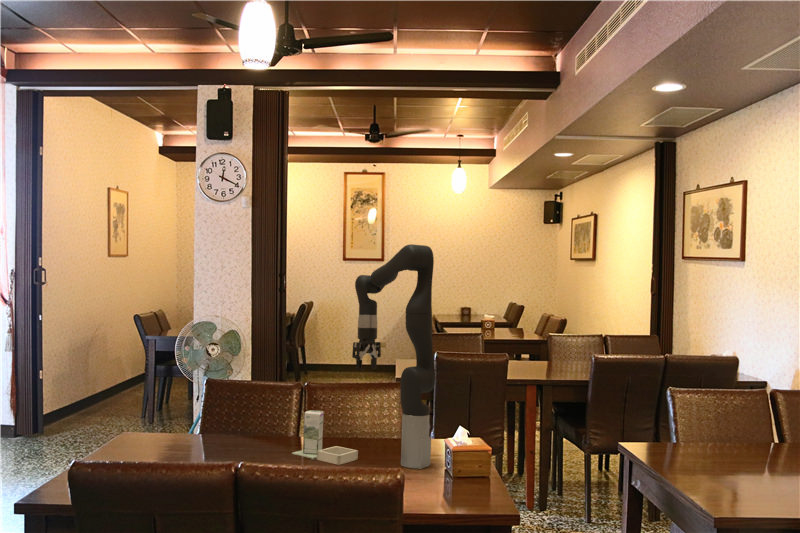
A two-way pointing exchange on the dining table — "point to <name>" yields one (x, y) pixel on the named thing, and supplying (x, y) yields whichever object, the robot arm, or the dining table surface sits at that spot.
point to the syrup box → (313, 431)
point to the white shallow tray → (332, 455)
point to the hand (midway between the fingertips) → (366, 369)
